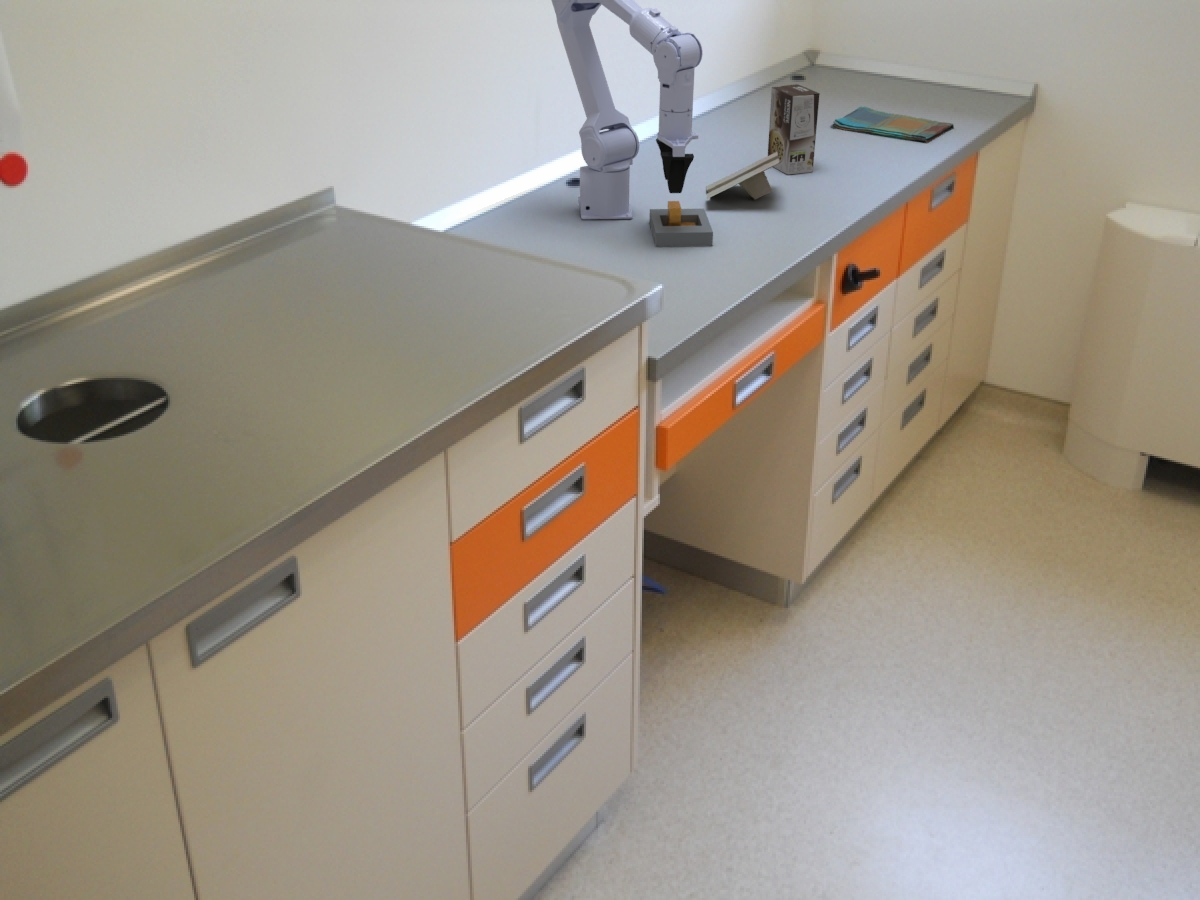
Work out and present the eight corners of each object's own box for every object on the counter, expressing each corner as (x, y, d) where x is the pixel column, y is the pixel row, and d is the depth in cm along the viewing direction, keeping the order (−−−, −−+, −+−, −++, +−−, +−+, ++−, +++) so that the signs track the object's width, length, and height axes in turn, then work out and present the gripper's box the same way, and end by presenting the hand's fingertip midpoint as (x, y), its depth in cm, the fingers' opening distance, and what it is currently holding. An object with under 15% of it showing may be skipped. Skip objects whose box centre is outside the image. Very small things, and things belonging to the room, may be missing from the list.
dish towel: (860, 115, 305) (861, 104, 304) (954, 129, 294) (955, 118, 292) (829, 130, 293) (830, 119, 292) (925, 146, 281) (927, 135, 280)
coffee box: (814, 172, 262) (821, 93, 254) (786, 175, 260) (792, 95, 252) (792, 160, 269) (798, 83, 262) (765, 163, 267) (770, 85, 260)
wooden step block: (668, 238, 227) (669, 208, 224) (666, 230, 230) (667, 201, 228) (696, 237, 227) (698, 207, 224) (694, 230, 230) (695, 200, 228)
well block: (655, 246, 223) (655, 232, 221) (649, 222, 234) (649, 209, 233) (712, 245, 223) (713, 232, 222) (703, 221, 234) (704, 208, 233)
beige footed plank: (734, 234, 240) (797, 183, 236) (705, 198, 239) (768, 146, 234) (733, 219, 256) (793, 171, 252) (706, 186, 254) (765, 136, 250)
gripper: (704, 119, 211) (700, 198, 218) (694, 97, 224) (691, 173, 231) (662, 119, 211) (659, 198, 218) (654, 98, 224) (652, 173, 230)
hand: (673, 185), depth 224 cm, fingers open, 7 cm apart
